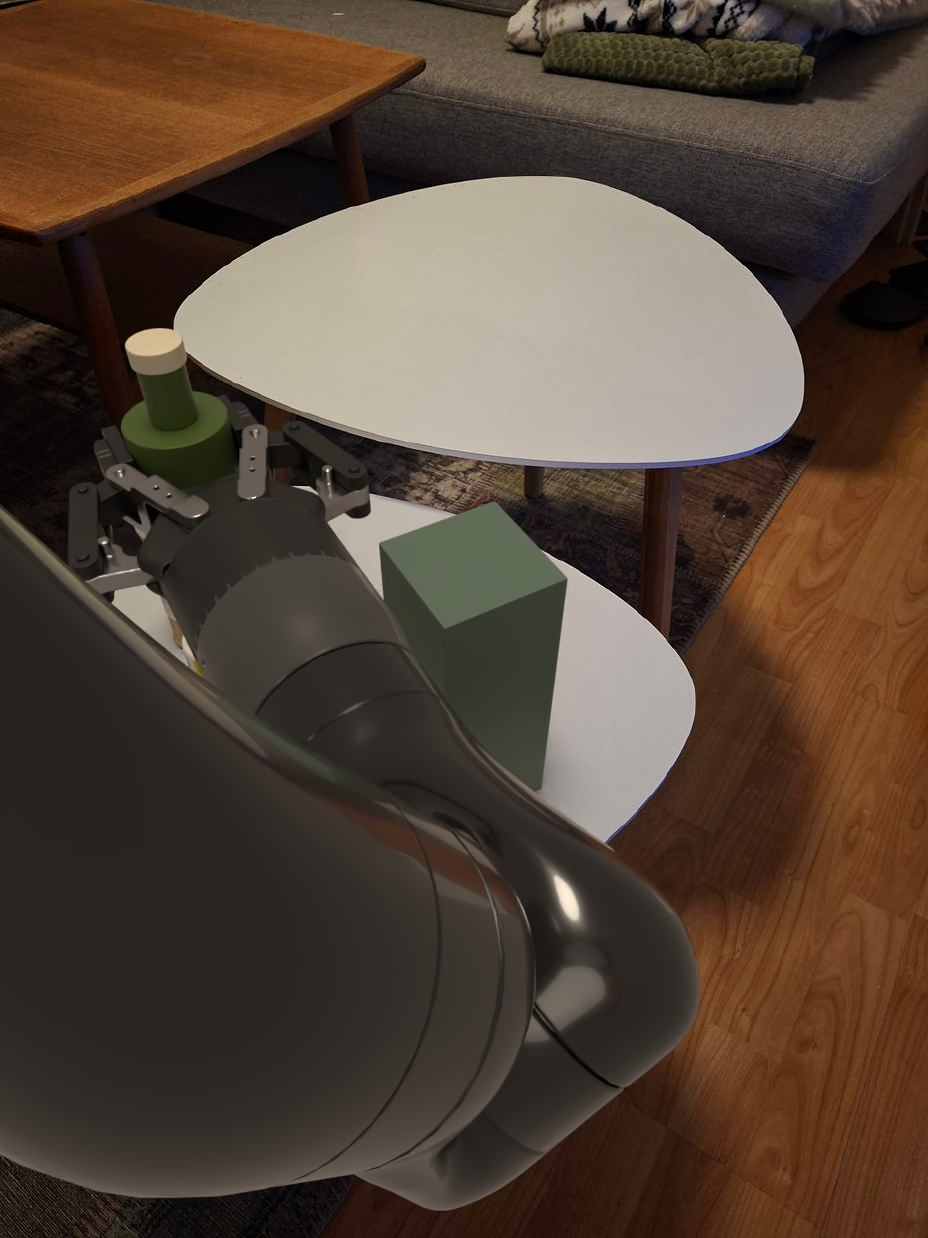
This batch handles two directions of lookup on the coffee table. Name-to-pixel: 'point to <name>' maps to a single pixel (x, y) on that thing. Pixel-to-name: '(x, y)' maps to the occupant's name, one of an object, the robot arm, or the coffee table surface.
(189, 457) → the olive bottle
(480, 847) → the robot arm
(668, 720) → the coffee table surface
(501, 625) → the pedestal
